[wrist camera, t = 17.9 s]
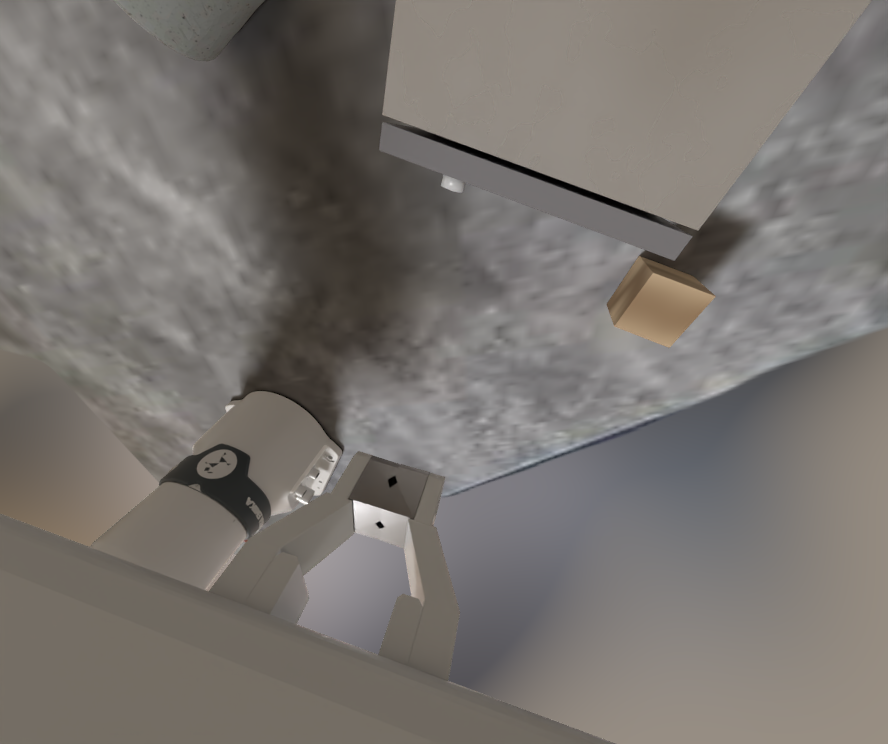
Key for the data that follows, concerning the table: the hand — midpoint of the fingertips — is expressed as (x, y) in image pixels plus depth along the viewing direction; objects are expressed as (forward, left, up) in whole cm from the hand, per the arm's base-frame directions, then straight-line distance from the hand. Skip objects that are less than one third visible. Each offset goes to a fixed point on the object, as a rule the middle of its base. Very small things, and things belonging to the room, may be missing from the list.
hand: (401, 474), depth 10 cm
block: (+3, -11, -20) cm, 23 cm away
